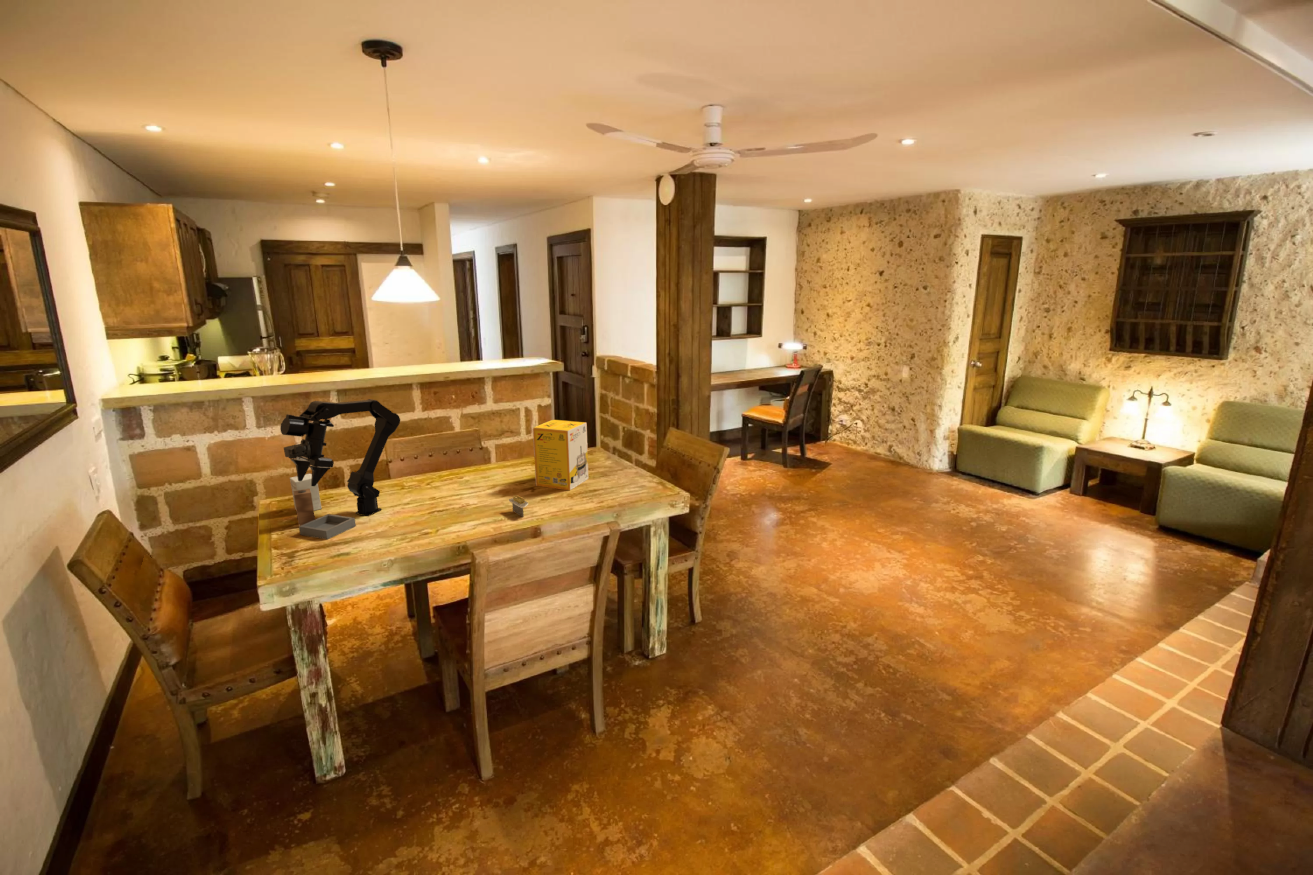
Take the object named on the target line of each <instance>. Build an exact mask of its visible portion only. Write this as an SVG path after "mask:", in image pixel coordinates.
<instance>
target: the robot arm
mask: <svg viewBox="0 0 1313 875" xmlns="http://www.w3.org/2000/svg"><path fill="white" fill-rule="evenodd" d="M363 412H369V413H370V416H372V417H373V418H374V419H375V421H374V434H373V437H372V439H371V441H370V444H369V445H368V448H367V451H366V453H365V456H364V458H363V460H362V462H361V465H360V467H359V469H358V470H357V471H351V472H350V475H349V478H348V480H346V482H347V489H348V491H349V492H350V493H352V494H353V496H355V497H356V507H357V508H356V509H357V511H355V515H360V516H361V515H362V516H371V515H374V514H376V513H378V512H380V511H382V508H381V507H379V504H378V498H379V497H380V493H381V491H380V490H379V489H377V488H375V487H374V483H375V476H374V472H375V470H376V468H377V465H378V463H379V461H380V459H381V456H382V453H383V452H384V448H385V447H386V445H387V441H388V439H389V437H390V436H391V435H392V434H394V433H395V432H396V431H397V428H398V427H399V425H400V424H401V418H400V416H399V414H397V413H396V412H393V411H392V410H390V409H389V408H387V407H386V406H385V405H383V404H382V403H381V402H380V401H379V400H376V399H371V398H367V399H365V400H353V401H342V402H332V401H325V400H324V401H322V400H313V401H311V402H310V403H309V405H308V406H307V408H306V409H305V410H304V411H303V412H301V413H300V415H299V416H298V415H293V414H288V413H287V414H285V417H284V419H283V420H282V421H281V423H280V429H279V430H280V433H281V435H282V436H291V437H299V438H301V437H304V436H305V437H304V438H303V439H301V440H300V443H298V444H292V445H288V446H284V447H283V452H284V457H285V458H288V459H290V461H291V462H292V463H293V464H294V465H295V468H296V476H297V477H298V481H302V480H303V478H304V476H305V475H306V474H307V472H308V470H309V468H310V470H311V474H312V479H311V486H316V484H317V483H318V484H319V482H320V481H321V479H322V478H323V477H324V476H325V474H326V473H327V472H328V471H330V470H331V468H334V463H335V462H334V460H333V459H332V458H330V457H325V454H323V449H324V447H327V442H325V439H326V434H327V428H330V427H331V428H333V427H334V426H335V425H334V424H333V422H332V421H331V420H330V419H333V418H335V417H338V416H339V415H344V414H345V415H346V414H352V413H363Z"/></svg>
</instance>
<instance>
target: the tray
mask: <svg viewBox="0 0 1313 875" xmlns="http://www.w3.org/2000/svg"><path fill="white" fill-rule="evenodd" d="M356 524H357V523H356V518H355V517H352V516H351V517H350V516H344V515H343V516H342V515H338V514H333V513H332V514H331V513H328V514H325V515H323V516H320V517H317V518H315V520H313V521H311V522H308V523H306V524H304V525H301V526H299V525H298V530H299V535H300V536H303V537H304V536H305V537H311V538H317V539H322V540H329V539H332V538H333V537H337V536H339V535H341V534H342V533H344V532H347V531H348V530H350V529H354V528H355V527H357V525H356Z"/></svg>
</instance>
